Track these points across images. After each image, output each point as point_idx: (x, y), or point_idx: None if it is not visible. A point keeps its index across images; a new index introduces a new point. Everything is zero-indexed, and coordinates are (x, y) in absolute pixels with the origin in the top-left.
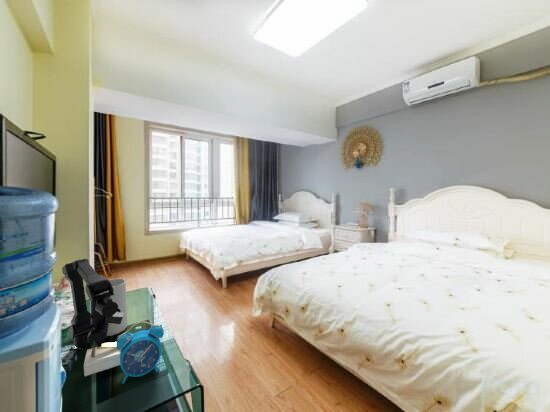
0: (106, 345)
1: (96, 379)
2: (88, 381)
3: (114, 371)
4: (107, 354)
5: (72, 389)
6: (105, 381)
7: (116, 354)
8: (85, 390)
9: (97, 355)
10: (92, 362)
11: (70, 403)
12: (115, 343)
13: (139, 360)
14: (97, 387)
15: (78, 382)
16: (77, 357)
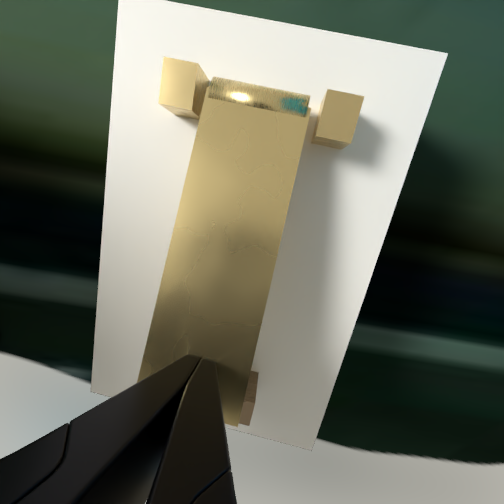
0: (230, 299)
1: (394, 329)
2: (372, 365)
3: (408, 226)
4: (314, 278)
5: (373, 432)
6: (469, 293)
7: (395, 202)
8: (448, 390)
9: (255, 350)
10: (326, 393)
11: (491, 456)
12: (220, 177)
13: None
14: (486, 340)
15: (334, 402)
16: (67, 367)
